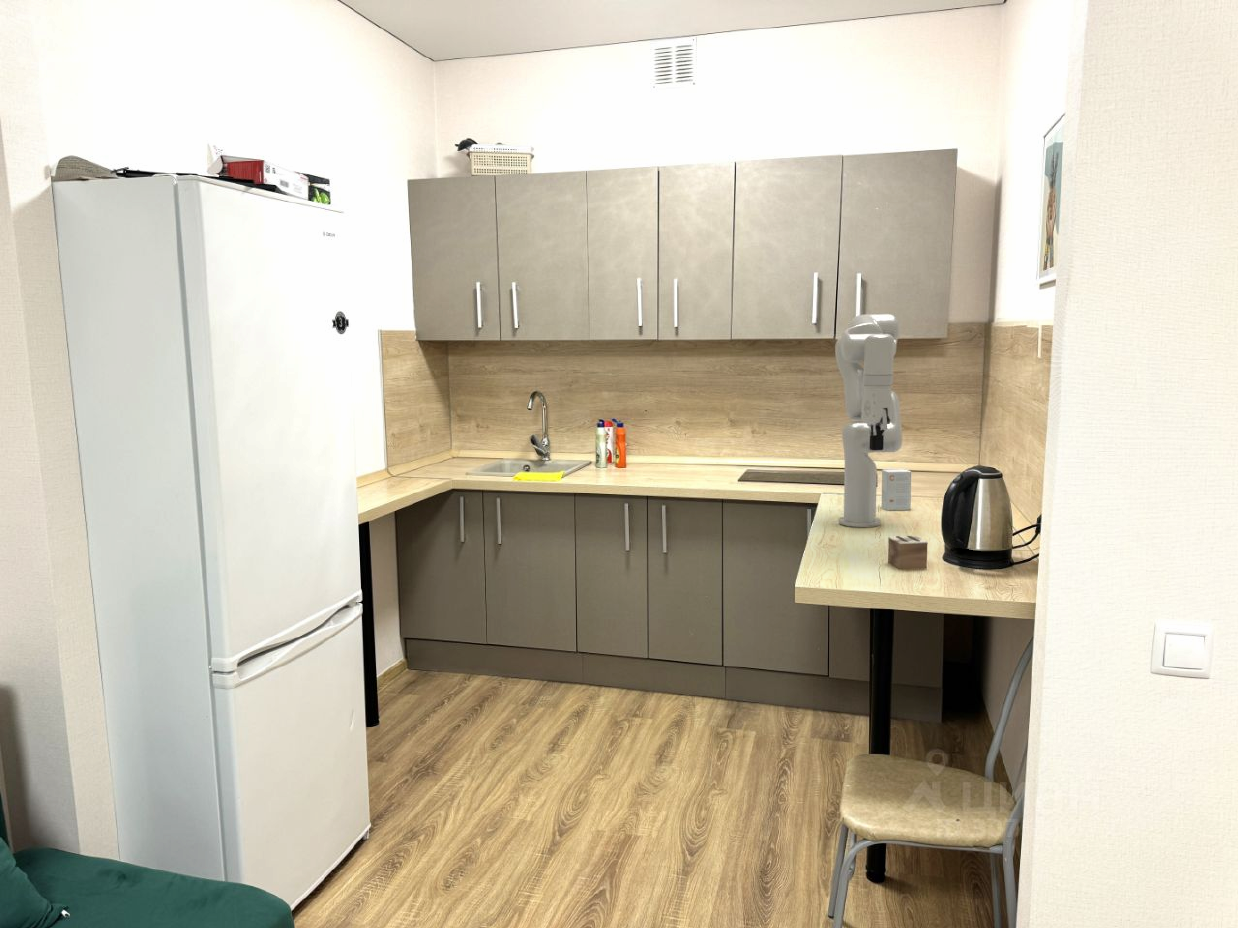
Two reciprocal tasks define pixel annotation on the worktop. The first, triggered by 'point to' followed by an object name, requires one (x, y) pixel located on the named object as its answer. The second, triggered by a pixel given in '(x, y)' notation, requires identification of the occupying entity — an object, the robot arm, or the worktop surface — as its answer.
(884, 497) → the small box
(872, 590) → the worktop surface
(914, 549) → the walnut block
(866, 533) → the worktop surface
